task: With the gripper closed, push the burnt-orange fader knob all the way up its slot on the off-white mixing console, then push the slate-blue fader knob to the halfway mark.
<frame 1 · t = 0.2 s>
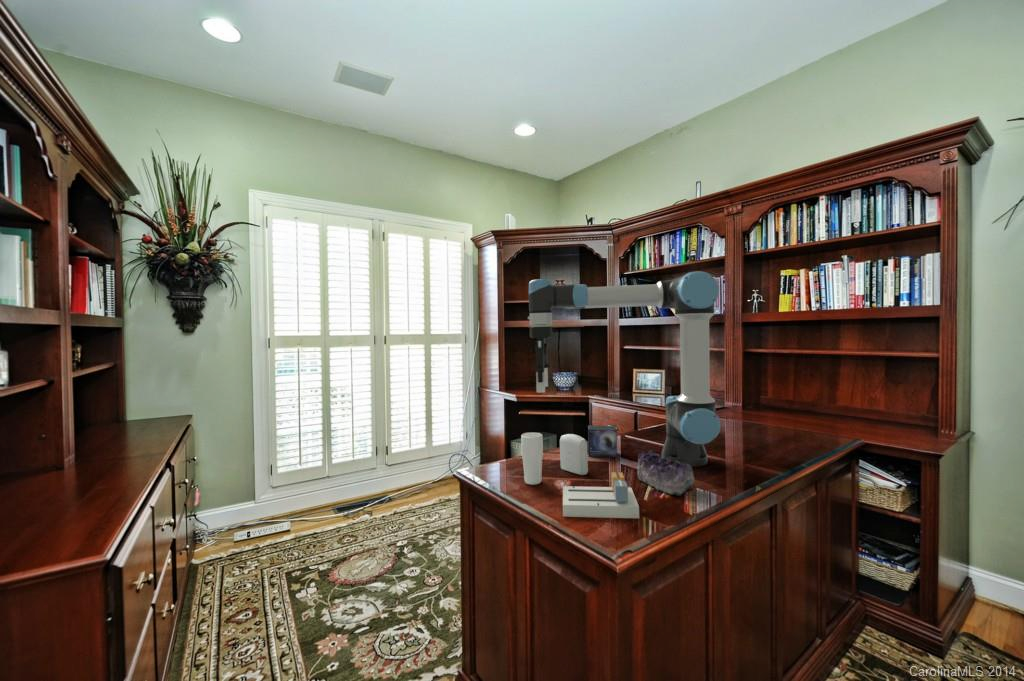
hand: (542, 389, 144), 28 cm above the table, fingers open, 13 cm apart
orange fader: (617, 481, 118), point 6 cm above the table, slide at 0.0 cm
fader console: (598, 506, 115), on the table
geode: (661, 485, 130), on the table
small box: (602, 455, 162), on the table
slotted white capsule: (574, 471, 144), on the table
slate fader: (620, 490, 111), point 6 cm above the table, slide at 0.0 cm
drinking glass: (533, 482, 135), on the table
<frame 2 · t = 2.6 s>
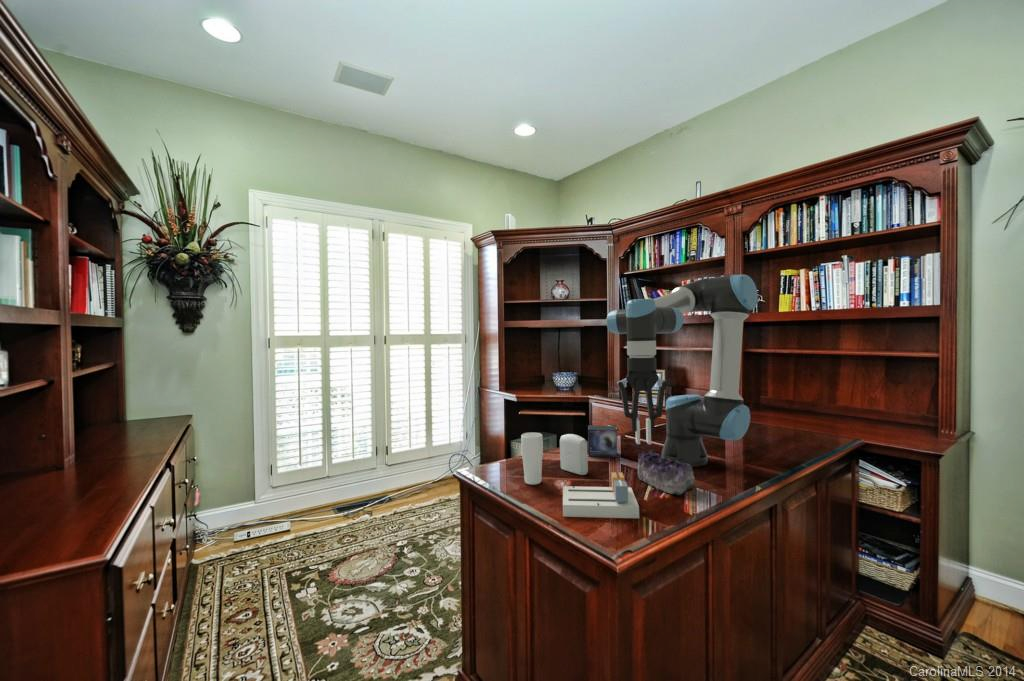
hand: (643, 442, 116), 16 cm above the table, fingers open, 2 cm apart
nothing on the table moved.
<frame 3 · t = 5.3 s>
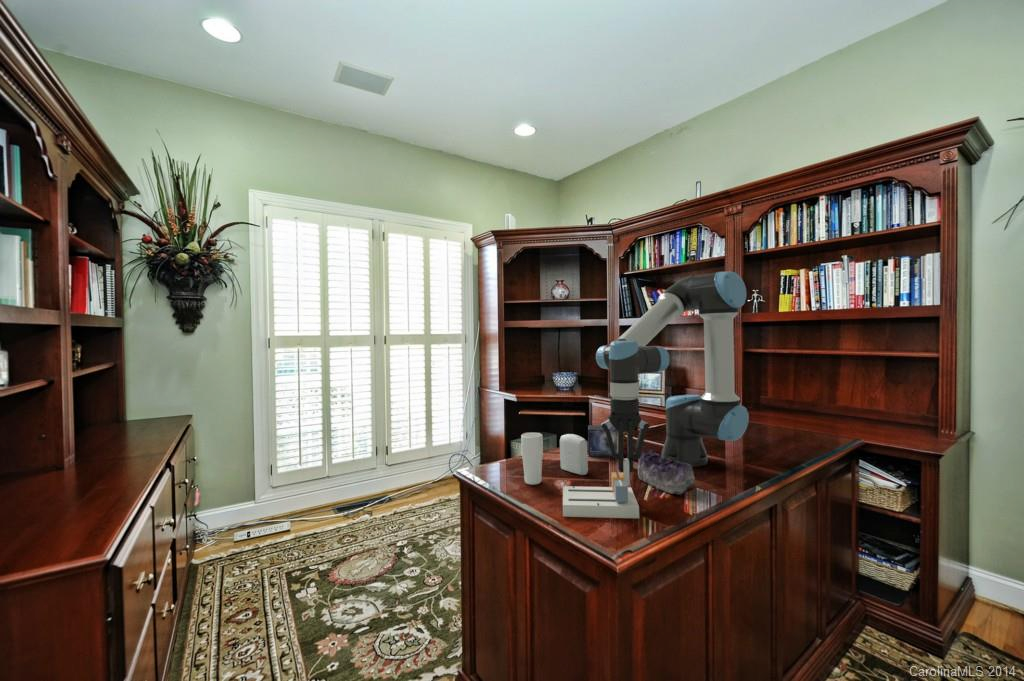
hand: (626, 483, 117), 5 cm above the table, fingers closed
orange fader: (617, 481, 118), point 6 cm above the table, slide at 0.0 cm, touching gripper
everything else where it was.
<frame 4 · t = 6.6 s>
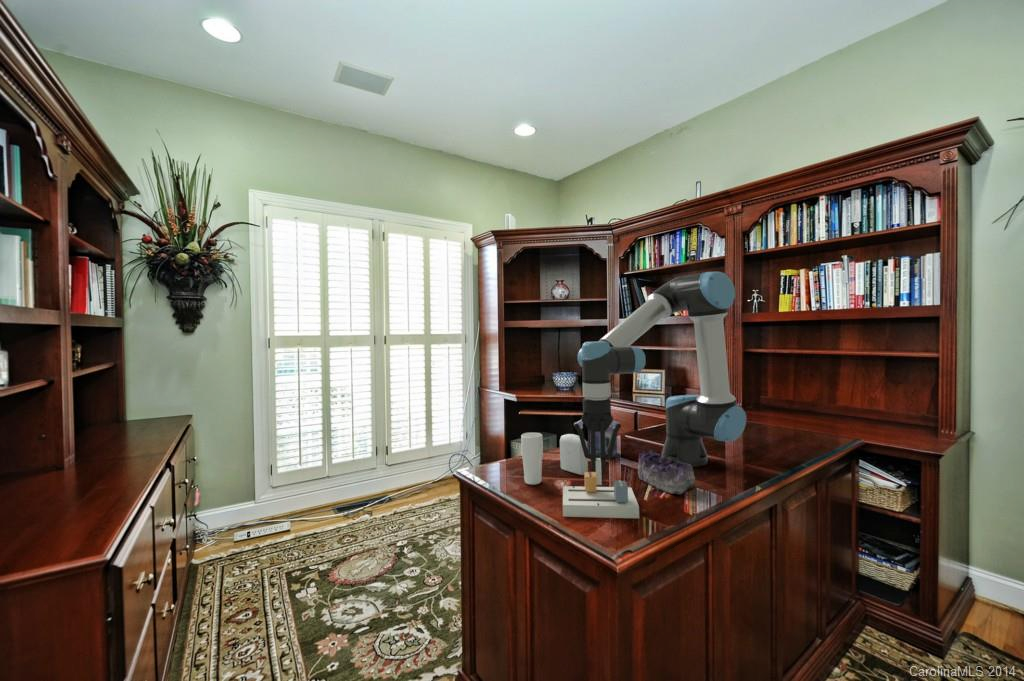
hand: (598, 482, 118), 5 cm above the table, fingers closed
orange fader: (590, 481, 119), point 6 cm above the table, slide at 7.4 cm, touching gripper
everything else where it was.
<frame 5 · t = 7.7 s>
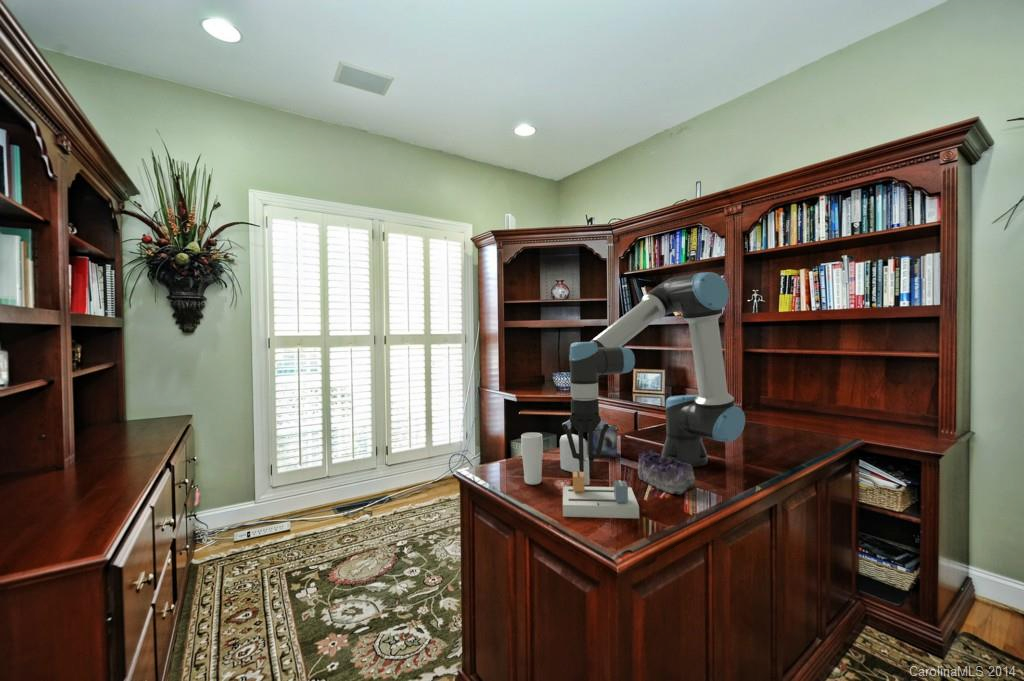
hand: (586, 483, 119), 5 cm above the table, fingers closed
orange fader: (578, 481, 119), point 6 cm above the table, slide at 10.7 cm, touching gripper
everything else where it was.
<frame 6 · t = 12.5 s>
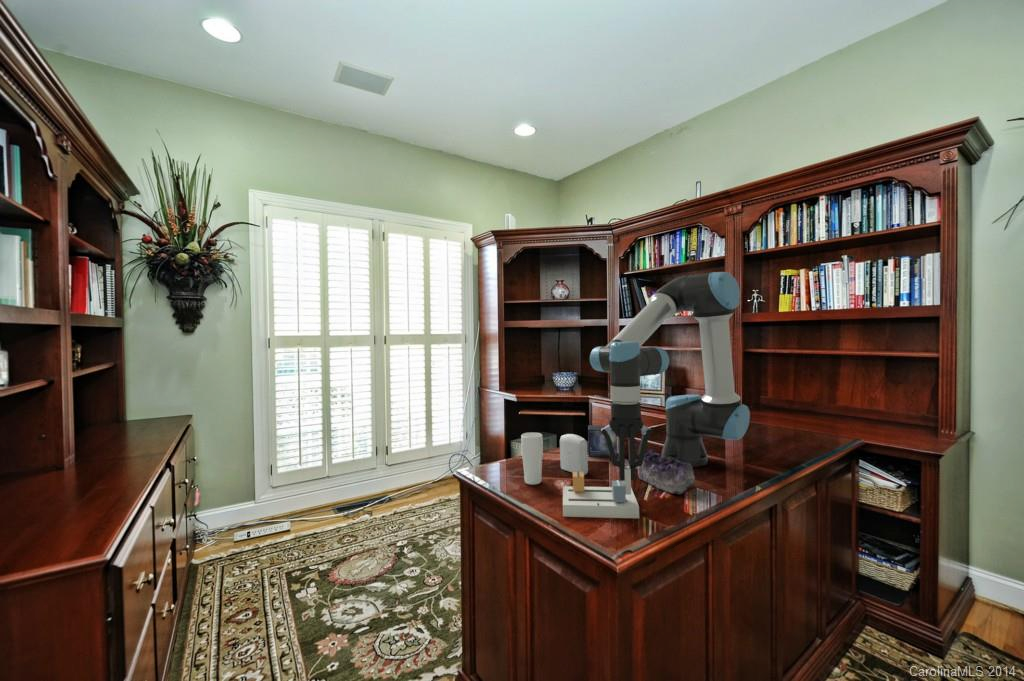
hand: (627, 492, 111), 5 cm above the table, fingers closed
orange fader: (578, 481, 119), point 6 cm above the table, slide at 10.7 cm
slate fader: (618, 490, 111), point 6 cm above the table, slide at 0.6 cm, touching gripper
everything else where it was.
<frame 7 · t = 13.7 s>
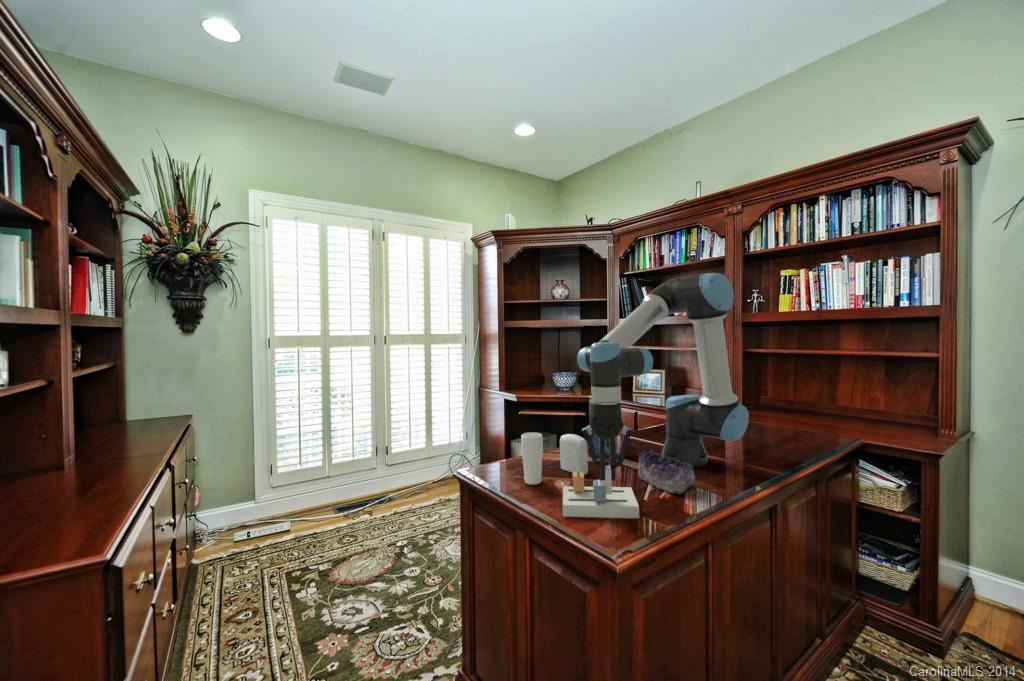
hand: (608, 492, 112), 5 cm above the table, fingers closed
slate fader: (599, 490, 112), point 6 cm above the table, slide at 5.4 cm, touching gripper
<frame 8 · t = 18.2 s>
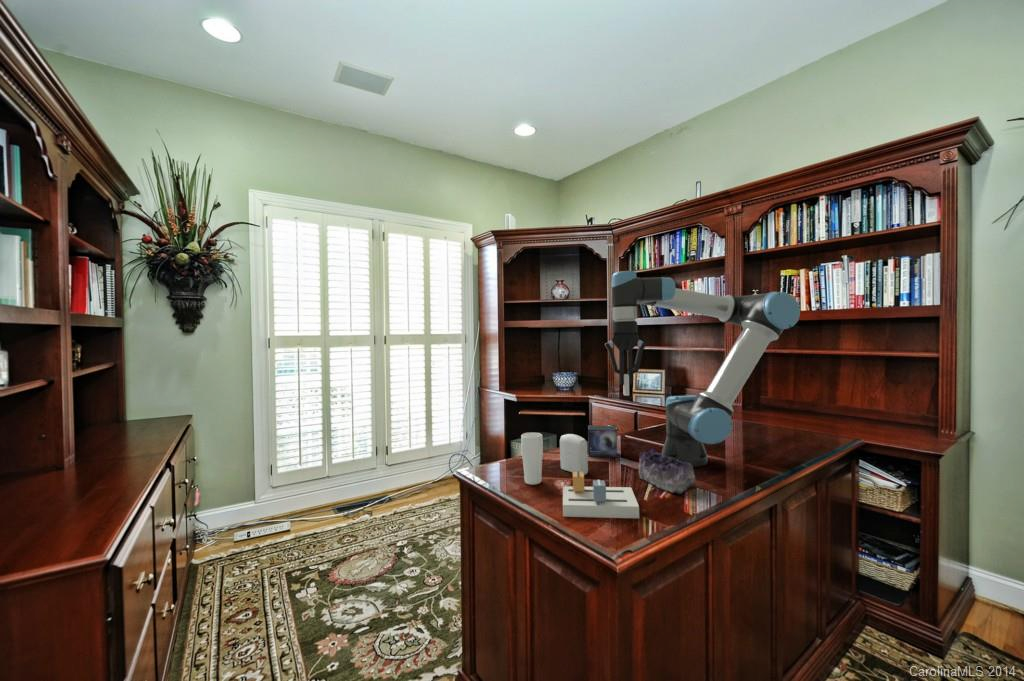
hand: (626, 394, 136), 26 cm above the table, fingers closed
slate fader: (599, 490, 112), point 6 cm above the table, slide at 5.5 cm
at the end: orange fader slide at 10.7 cm; slate fader slide at 5.5 cm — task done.
